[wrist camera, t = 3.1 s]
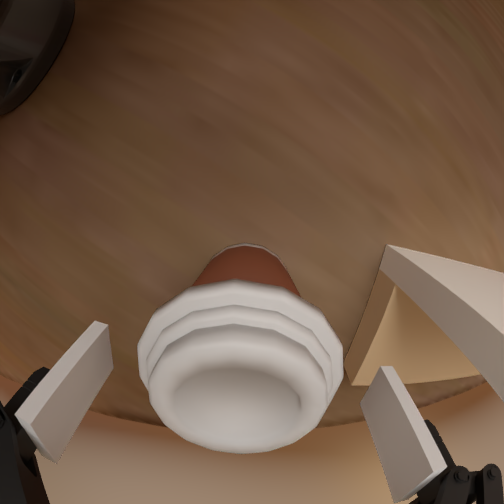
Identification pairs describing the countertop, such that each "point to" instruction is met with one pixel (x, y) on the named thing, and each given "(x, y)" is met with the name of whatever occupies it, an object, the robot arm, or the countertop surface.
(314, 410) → the coffee cup
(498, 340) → the board
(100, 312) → the countertop surface
